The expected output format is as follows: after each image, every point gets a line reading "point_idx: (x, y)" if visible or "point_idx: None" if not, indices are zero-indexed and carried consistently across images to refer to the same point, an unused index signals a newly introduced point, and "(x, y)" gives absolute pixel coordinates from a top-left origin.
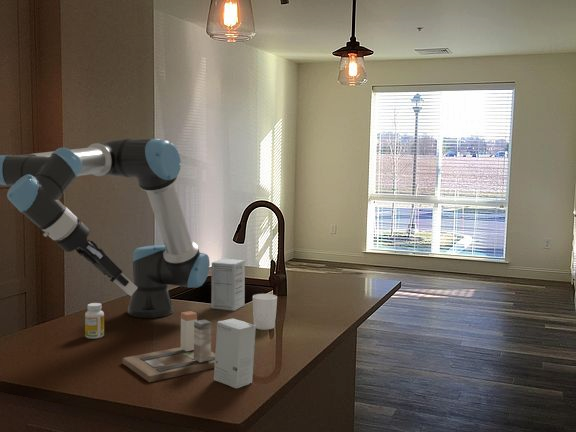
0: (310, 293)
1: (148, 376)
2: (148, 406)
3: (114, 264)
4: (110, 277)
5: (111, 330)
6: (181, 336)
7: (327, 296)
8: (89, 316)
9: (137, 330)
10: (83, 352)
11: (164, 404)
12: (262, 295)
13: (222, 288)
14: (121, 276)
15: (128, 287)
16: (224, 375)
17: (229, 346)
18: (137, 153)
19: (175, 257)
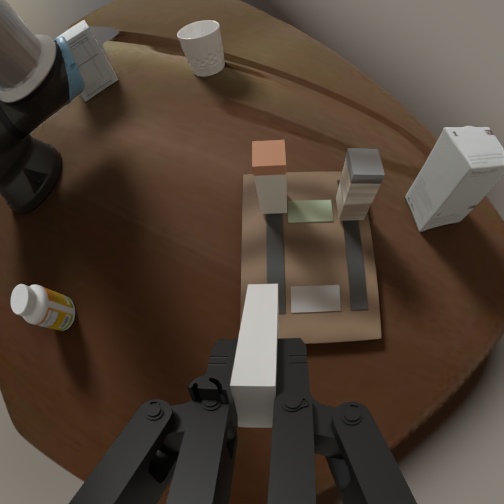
0: (138, 16)
1: (376, 338)
2: (466, 374)
3: (406, 489)
4: (236, 432)
5: (55, 272)
6: (262, 200)
7: (160, 7)
8: (39, 320)
9: (81, 231)
10: (130, 379)
11: (471, 348)
12: (182, 31)
13: (86, 68)
14: (309, 391)
15: (278, 334)
16: (445, 219)
17: (479, 189)
18: None
19: (29, 79)
